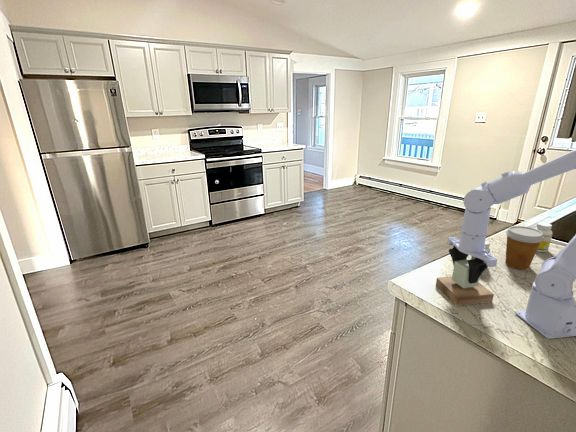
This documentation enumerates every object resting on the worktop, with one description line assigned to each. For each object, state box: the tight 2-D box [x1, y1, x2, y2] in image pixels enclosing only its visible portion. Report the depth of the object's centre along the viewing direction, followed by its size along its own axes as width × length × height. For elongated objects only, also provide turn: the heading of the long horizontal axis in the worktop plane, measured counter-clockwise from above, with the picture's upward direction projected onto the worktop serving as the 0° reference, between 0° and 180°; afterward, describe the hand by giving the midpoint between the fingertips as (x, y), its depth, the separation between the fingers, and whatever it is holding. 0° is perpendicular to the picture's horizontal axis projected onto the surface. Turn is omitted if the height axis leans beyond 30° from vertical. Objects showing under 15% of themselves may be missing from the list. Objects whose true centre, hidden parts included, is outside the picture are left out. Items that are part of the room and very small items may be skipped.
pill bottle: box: [470, 239, 491, 260], centre depth 99 cm, size 5×5×8 cm
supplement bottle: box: [534, 221, 553, 253], centre depth 107 cm, size 5×5×10 cm
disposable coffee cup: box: [505, 225, 544, 270], centre depth 97 cm, size 10×10×12 cm
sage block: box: [451, 258, 481, 288], centre depth 84 cm, size 4×4×6 cm
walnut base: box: [435, 275, 495, 306], centre depth 85 cm, size 10×10×2 cm
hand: (465, 277), depth 84 cm, fingers closed on sage block, 4 cm apart
